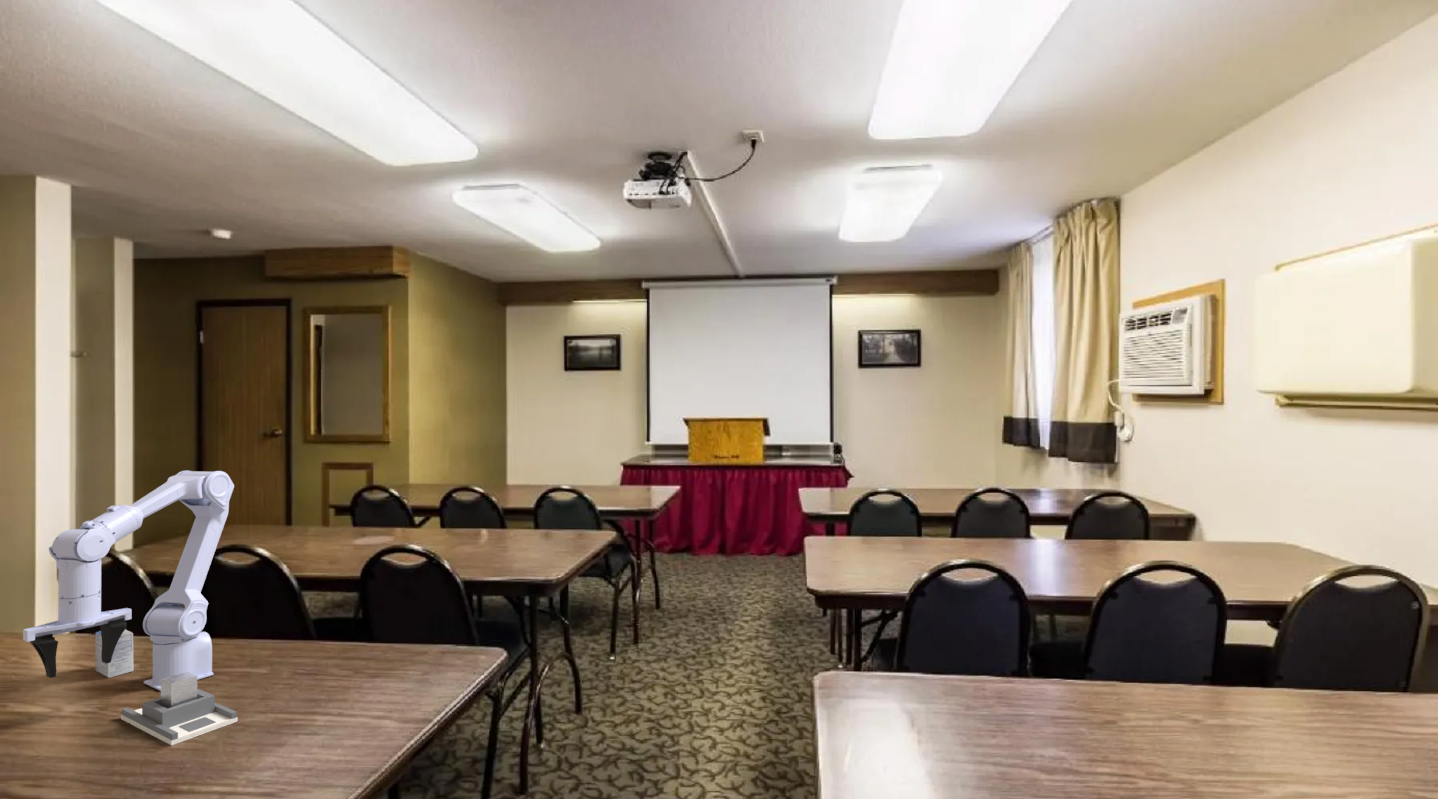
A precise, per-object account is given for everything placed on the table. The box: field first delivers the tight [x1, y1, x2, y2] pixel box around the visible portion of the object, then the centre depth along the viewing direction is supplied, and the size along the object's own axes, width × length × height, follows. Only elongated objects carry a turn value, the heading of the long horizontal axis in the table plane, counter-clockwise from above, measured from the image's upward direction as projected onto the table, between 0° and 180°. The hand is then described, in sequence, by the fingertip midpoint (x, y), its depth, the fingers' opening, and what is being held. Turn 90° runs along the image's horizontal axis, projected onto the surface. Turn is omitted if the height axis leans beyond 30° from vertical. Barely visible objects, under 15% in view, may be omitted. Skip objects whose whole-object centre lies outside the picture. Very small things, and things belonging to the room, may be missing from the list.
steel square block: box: [160, 672, 198, 709], centre depth 123 cm, size 4×4×7 cm
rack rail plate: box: [120, 687, 239, 746], centre depth 123 cm, size 10×20×4 cm, turn 60°
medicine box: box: [94, 628, 134, 679], centre depth 146 cm, size 8×4×9 cm, turn 58°
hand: (79, 669), depth 123 cm, fingers open, 7 cm apart
